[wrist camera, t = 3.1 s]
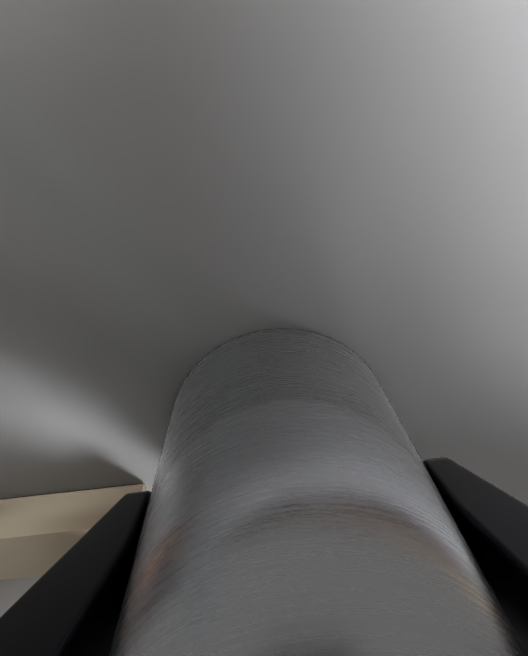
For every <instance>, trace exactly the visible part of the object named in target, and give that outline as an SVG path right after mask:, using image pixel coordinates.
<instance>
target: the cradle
mask: <svg viewBox="0 0 528 656" xmlns="http://www.w3.org/2000/svg"><path fill="white" fill-rule="evenodd" d="M140 491H146V490H145V486H144V484H138V485H129V486H120V487H111V488H102V489H93V490H84V491H75V492H66V493H57V494H48V495H39V496H30V497H21V498H12V499H3V500H0V617H1V616H2V615H3V614H4V613H5V612H6V611H7V610H8V609H9V608H10V607H11V606H12V605H13V604H14V603H15V602H16V601H17V600H18V599H19V598H20V597H21V596H22V595H23V594H24V593H25V592H26V591H27V590H28V589H29V588H30V587H31V586H32V585H33V584H34V583H35V582H36V581H37V580H38V579H39V578H40V577H42V576H43V575H44V574H45V573H46V572H47V571H48V570H49V569H50V568H51V567H52V566H53V565H54V564H55V563H56V562H57V561H58V560H59V559H60V558H61V557H62V556H63V555H64V554H65V553H66V552H67V551H68V550H69V549H70V548H71V547H72V546H73V545H74V544H75V543H76V542H77V541H78V540H79V539H80V538H81V537H82V536H83V535H84V534H85V533H86V532H87V531H88V530H89V529H90V528H91V527H92V526H93V525H94V524H95V523H96V522H97V521H98V520H100V519H101V518H102V517H103V516H104V515H105V514H106V513H107V512H108V511H109V510H110V509H111V508H112V507H113V506H114V505H115V504H116V503H117V502H118V501H119V500H120V499H121V498H122V497H123V496H124V495H125V494H127V493H131V492H140Z"/></svg>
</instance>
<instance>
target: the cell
mask: <svg viewBox="0 0 528 656" xmlns="http://www.w3.org/2000/svg"><path fill="white" fill-rule="evenodd" d="M109 656H528V653H527V652H526V650H525V648H524V646H523V644H522V642H521V641H520V639H519V637H518V635H517V633H516V632H515V630H514V628H513V626H512V624H511V622H510V621H509V619H508V617H507V615H506V613H505V611H504V610H503V608H502V606H501V604H500V602H499V601H498V599H497V597H496V595H495V593H494V591H493V590H492V588H491V586H490V584H489V582H488V581H487V579H486V577H485V575H484V573H483V571H482V570H481V568H480V566H479V564H478V562H477V560H476V559H475V557H474V555H473V553H472V551H471V550H470V548H469V546H468V544H467V542H466V540H465V539H464V537H463V535H462V533H461V531H460V529H459V528H458V526H457V524H456V522H455V520H454V519H453V517H452V515H451V513H450V511H449V509H448V508H447V506H446V504H445V502H444V500H443V499H442V497H441V495H440V493H439V491H438V489H437V488H436V486H435V484H434V482H433V480H432V478H431V477H430V475H429V473H428V471H427V469H426V468H425V466H424V464H423V462H422V460H421V458H420V457H419V455H418V453H417V451H416V449H415V447H414V446H413V444H412V442H411V440H410V438H409V437H408V435H407V433H406V431H405V429H404V427H403V426H402V424H401V422H400V420H399V418H398V417H397V415H396V413H395V411H394V409H393V407H392V406H391V404H390V402H389V400H388V398H387V396H386V395H385V393H384V391H383V389H382V387H381V386H380V384H379V382H378V380H377V379H376V377H375V375H374V374H373V372H372V371H371V369H370V368H369V367H368V366H367V365H366V363H365V362H364V361H363V360H362V359H361V358H360V357H358V356H357V355H356V354H355V353H354V352H353V351H351V350H350V349H348V348H347V347H345V346H344V345H342V344H341V343H339V342H337V341H335V340H333V339H330V338H328V337H325V336H322V335H319V334H317V333H313V332H308V331H303V330H295V329H270V330H264V331H258V332H253V333H250V334H247V335H243V336H240V337H238V338H235V339H233V340H231V341H229V342H226V343H225V344H223V345H221V346H220V347H218V348H217V349H215V350H213V351H212V352H211V353H210V354H208V355H207V356H206V357H205V358H203V359H202V360H201V361H200V362H199V363H198V364H197V365H196V366H195V368H194V369H193V370H192V371H191V372H190V374H189V375H188V377H187V378H186V379H185V381H184V383H183V385H182V387H181V389H180V390H179V392H178V395H177V398H176V401H175V404H174V408H173V411H172V415H171V419H170V423H169V427H168V431H167V434H166V438H165V442H164V446H163V450H162V454H161V457H160V461H159V465H158V469H157V473H156V477H155V480H154V484H153V488H152V492H151V496H150V500H149V504H148V507H147V511H146V515H145V519H144V523H143V527H142V530H141V534H140V538H139V542H138V546H137V550H136V553H135V557H134V561H133V565H132V569H131V573H130V577H129V580H128V584H127V588H126V592H125V596H124V600H123V603H122V607H121V611H120V615H119V619H118V623H117V626H116V630H115V634H114V638H113V642H112V646H111V649H110V653H109Z"/></svg>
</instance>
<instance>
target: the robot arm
mask: <svg viewBox="0 0 528 656" xmlns="http://www.w3.org/2000/svg"><path fill="white" fill-rule="evenodd" d="M423 464H424V466H425V468H426V469H427V471H428V473H429V475H430V477H431V478H432V480H433V482H434V484H435V486H436V488H437V489H438V491H439V493H440V495H441V497H442V499H443V500H444V502H445V504H446V506H447V508H448V509H449V511H450V513H451V515H452V517H453V519H454V520H455V522H456V524H457V526H458V528H459V529H460V531H461V533H462V535H463V537H464V539H465V540H466V542H467V544H468V546H469V548H470V550H471V551H472V553H473V555H474V557H475V559H476V560H477V562H478V564H479V566H480V568H481V570H482V571H483V573H484V575H485V577H486V579H487V581H488V582H489V584H490V586H491V588H492V590H493V591H494V593H495V595H496V597H497V599H498V601H499V602H500V604H501V606H502V608H503V610H504V611H505V613H506V615H507V617H508V619H509V621H510V622H511V624H512V626H513V628H514V630H515V632H516V633H517V635H518V637H519V639H520V641H521V642H522V644H523V646H524V648H525V650H526V652H527V653H528V506H527V505H525V504H524V503H522V502H520V501H519V500H517V499H515V498H514V497H512V496H510V495H509V494H507V493H505V492H504V491H502V490H500V489H499V488H497V487H495V486H494V485H492V484H490V483H489V482H487V481H485V480H484V479H482V478H480V477H479V476H477V475H475V474H474V473H472V472H470V471H469V470H467V469H465V468H464V467H462V466H460V465H459V464H457V463H455V462H454V461H452V460H450V459H448V458H436V459H427V460H424V461H423ZM150 496H151V492H150V491H140V492H131V493H127V494H125V495H124V496H123V497H122V498H121V499H120V500H119V501H118V502H117V503H116V504H115V505H114V506H113V507H112V508H111V509H110V510H109V511H108V512H107V513H106V514H105V515H104V516H103V517H102V518H101V519H100V520H98V521H97V522H96V523H95V524H94V525H93V526H92V527H91V528H90V529H89V530H88V531H87V532H86V533H85V534H84V535H83V536H82V537H81V538H80V539H79V540H78V541H77V542H76V543H75V544H74V545H73V546H72V547H71V548H70V549H69V550H68V551H67V552H66V553H65V554H64V555H63V556H62V557H61V558H60V559H59V560H58V561H57V562H56V563H55V564H54V565H53V566H52V567H51V568H50V569H49V570H48V571H47V572H46V573H45V574H44V575H43V576H42V577H40V578H39V579H38V580H37V581H36V582H35V583H34V584H33V585H32V586H31V587H30V588H29V589H28V590H27V591H26V592H25V593H24V594H23V595H22V596H21V597H20V598H19V599H18V600H17V601H16V602H15V603H14V604H13V605H12V606H11V607H10V608H9V609H8V610H7V611H6V612H5V613H4V614H3V615H2V616H1V617H0V656H109V653H110V649H111V646H112V642H113V638H114V634H115V630H116V626H117V623H118V619H119V615H120V611H121V607H122V603H123V600H124V596H125V592H126V588H127V584H128V580H129V577H130V573H131V569H132V565H133V561H134V557H135V553H136V550H137V546H138V542H139V538H140V534H141V530H142V527H143V523H144V519H145V515H146V511H147V507H148V504H149V500H150Z"/></svg>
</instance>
